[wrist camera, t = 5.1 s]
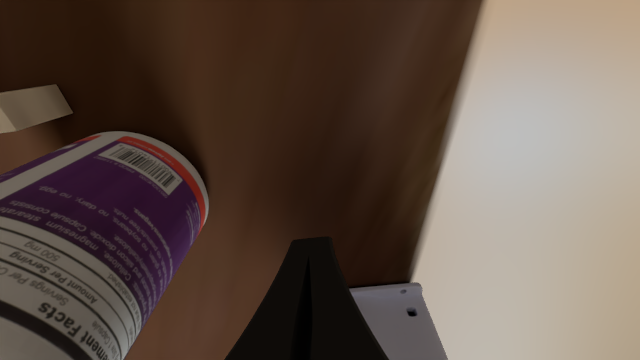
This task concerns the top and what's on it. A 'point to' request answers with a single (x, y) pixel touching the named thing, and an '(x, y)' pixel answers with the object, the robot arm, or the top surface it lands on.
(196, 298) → the top surface
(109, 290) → the pill bottle
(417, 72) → the top surface
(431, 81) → the top surface
